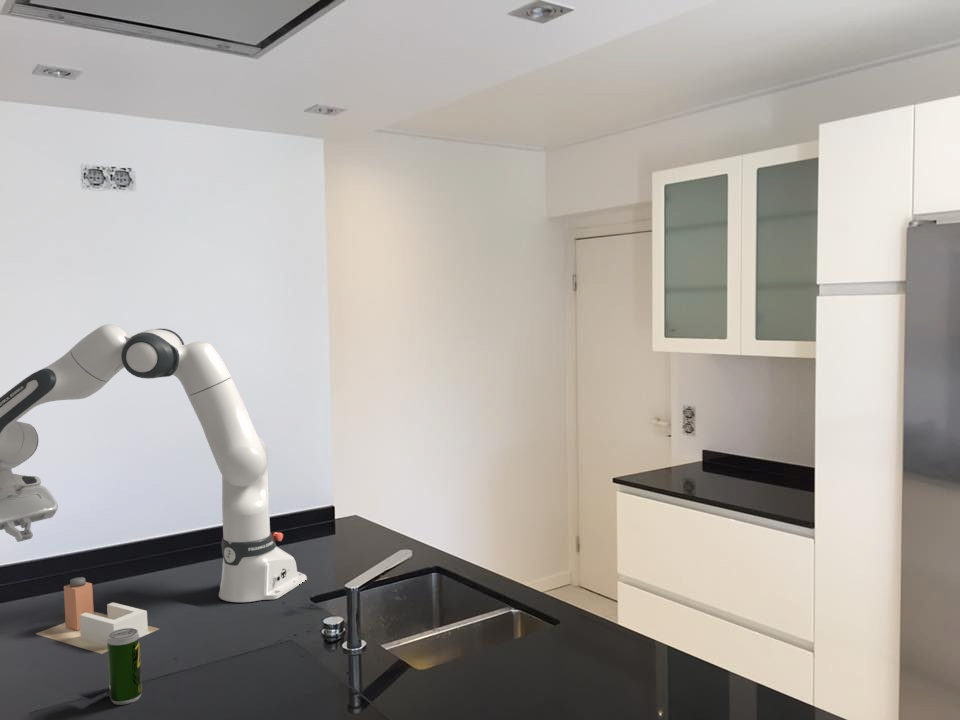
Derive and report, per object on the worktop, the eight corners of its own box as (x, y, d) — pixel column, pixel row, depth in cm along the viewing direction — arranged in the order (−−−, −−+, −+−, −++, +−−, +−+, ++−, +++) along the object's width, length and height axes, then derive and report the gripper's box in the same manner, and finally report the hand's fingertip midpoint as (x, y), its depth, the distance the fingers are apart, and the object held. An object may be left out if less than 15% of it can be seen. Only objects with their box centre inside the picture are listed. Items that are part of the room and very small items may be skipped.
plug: (82, 620, 179) (80, 575, 179) (94, 623, 178) (91, 578, 177) (65, 627, 176) (63, 581, 175) (77, 630, 174) (74, 583, 173)
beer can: (112, 708, 143) (109, 642, 142) (107, 696, 147) (104, 632, 147) (145, 699, 146) (142, 634, 145) (139, 688, 150) (136, 625, 150)
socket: (114, 624, 177) (113, 602, 177) (148, 633, 172) (146, 610, 172) (80, 638, 170) (79, 614, 170) (114, 648, 165) (113, 624, 165)
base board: (94, 618, 185) (94, 611, 185) (160, 635, 175) (159, 628, 175) (35, 640, 173) (35, 633, 173) (101, 661, 162) (101, 653, 162)
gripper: (-44, 492, 178) (-16, 542, 174) (45, 475, 196) (72, 520, 192) (-54, 510, 181) (-27, 559, 177) (35, 491, 199) (61, 536, 195)
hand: (25, 538), depth 185 cm, fingers closed
